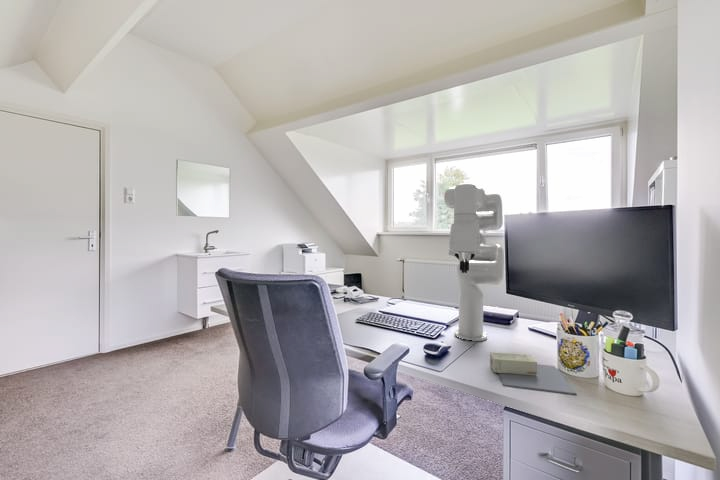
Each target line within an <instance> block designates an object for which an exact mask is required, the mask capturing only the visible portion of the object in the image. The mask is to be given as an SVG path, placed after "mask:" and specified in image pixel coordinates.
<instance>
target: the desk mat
mask: <svg viewBox="0 0 720 480" xmlns="http://www.w3.org/2000/svg"><path fill="white" fill-rule="evenodd" d="M498 375H499V378H500V380H501V382H502V385H503V386H505V387H511V388H519V389H520V388H521V389H527V390H534V391H535V390H537V391H544V392H552V393H559V394H566V395H567V394H568V395H574V396H575V395H576V396H577V392H576V390H575V389H574V388H573V387H572V386H571V384H570V383H569V382H568V381H567V379H566V378H565V377H564V376H563V374H562V373H561V372H560V371H559V369H558V368H557V367H556V366H555V365H549V364H540V363H537V376H533V375H521V374H509V373H498Z"/></svg>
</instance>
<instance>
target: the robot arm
mask: <svg viewBox="0 0 720 480" xmlns="http://www.w3.org/2000/svg"><path fill="white" fill-rule="evenodd" d="M443 198H444V200H443V201H444V203H445V205H446V207H447V208H449V209H453V223H451V224H450V225H451V226H450V229H449V245H448V246H449V247H448V248H449V250H448V255H450V256H452V257H456V258H457V259H458V261H459V263H458V264H457V269H456V271H457V278H458V295H459V296H458V329H457V330H455V331H454V336H455V335H456V336H458V337H460V338H463V339H466V340H465V341H468V340H472V341H471V342H481V341H485V340H487V338H488V335H487V334H486V333H485V332H484V300H485V299H484V298H485V297H484V296H485V295H484V293H483V291H482V290H481V288H480V287H479V286H478V285H489V286H491V285H492V286H497V285H501V283H502V282H503V279H504V270H505V269H504V263H505V253H504V248H503V247H502V246H501V245H500V244H498V243H497V244H496V243H487V239H486V237H485V236H484V235H483V234H482V232H481V231H498V230H500V229H501V228H502V226H503V219H504V218H503V202H502V197H501V194H499V193H498V192H486V191H485V190H484V188H483V187H482V186H480V185H477V184H475V183H470V182H467V183H466V182H464V183H459V184H456V185H455V186H451V187H448V188H446V190H445V191H444V195H443ZM456 336H455V337H456ZM458 337H457V338H458ZM460 338H459V339H460ZM463 339H462V340H463Z"/></svg>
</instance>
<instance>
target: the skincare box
mask: <svg viewBox="0 0 720 480" xmlns="http://www.w3.org/2000/svg"><path fill="white" fill-rule="evenodd" d="M489 353H490V354H489V366H490V367H491V369H492V371H493V373H498V374H499V373H509V374H521V375H533V376H537V364H538V361H537V360H536V359H535V358H534V357H533V356H532V355H531V354H524V353H522V354H521V353H511V352H510V353H509V352H496V351H490V352H489Z"/></svg>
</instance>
